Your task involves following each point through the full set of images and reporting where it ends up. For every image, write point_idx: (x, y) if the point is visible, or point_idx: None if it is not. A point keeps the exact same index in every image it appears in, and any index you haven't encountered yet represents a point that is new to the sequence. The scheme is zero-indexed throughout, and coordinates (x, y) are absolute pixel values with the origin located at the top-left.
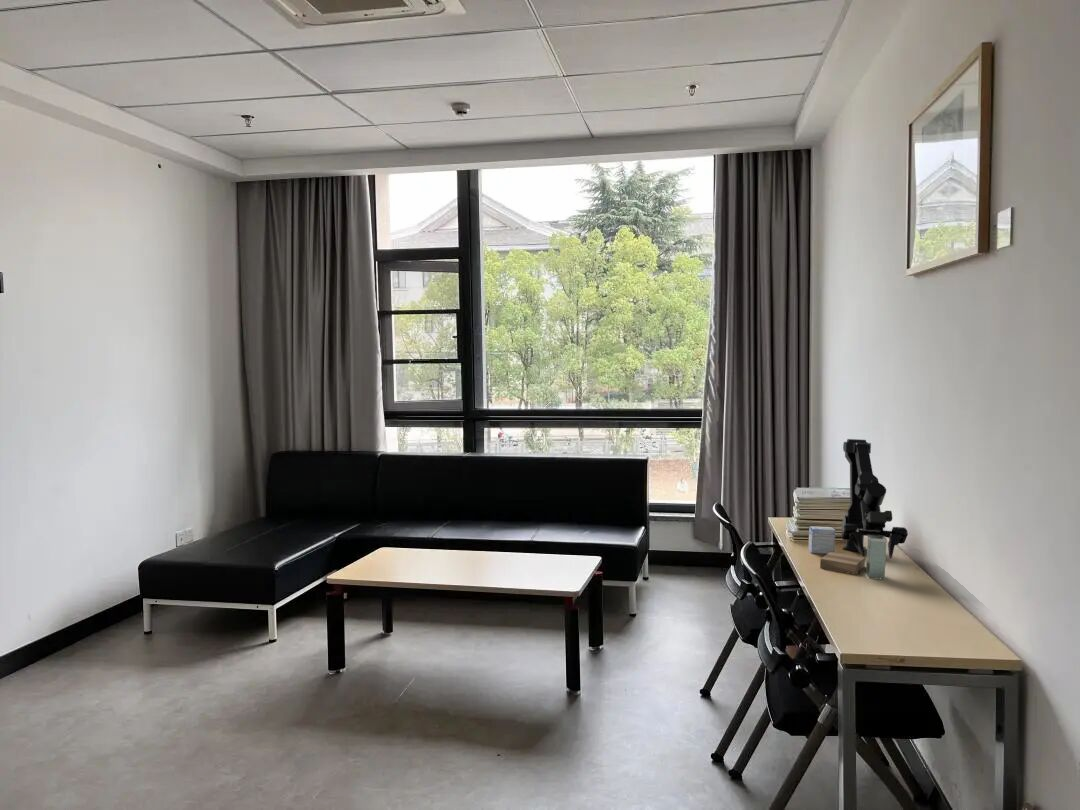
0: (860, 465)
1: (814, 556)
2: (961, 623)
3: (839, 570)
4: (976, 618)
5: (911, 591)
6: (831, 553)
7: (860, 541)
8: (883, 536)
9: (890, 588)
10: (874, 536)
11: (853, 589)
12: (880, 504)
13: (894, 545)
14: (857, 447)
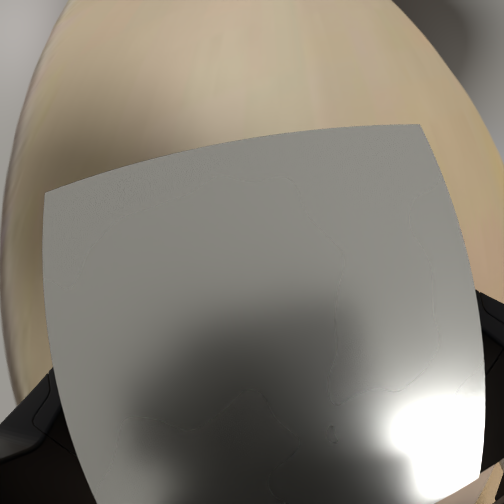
0: None
1: (489, 494)
2: (91, 6)
3: None
4: (46, 43)
5: (113, 146)
6: (479, 481)
7: (499, 324)
8: (109, 492)
9: (194, 142)
10: (358, 405)
11: (345, 79)
12: None
13: (33, 389)
14: None
